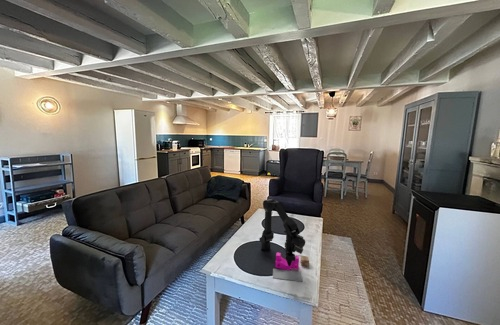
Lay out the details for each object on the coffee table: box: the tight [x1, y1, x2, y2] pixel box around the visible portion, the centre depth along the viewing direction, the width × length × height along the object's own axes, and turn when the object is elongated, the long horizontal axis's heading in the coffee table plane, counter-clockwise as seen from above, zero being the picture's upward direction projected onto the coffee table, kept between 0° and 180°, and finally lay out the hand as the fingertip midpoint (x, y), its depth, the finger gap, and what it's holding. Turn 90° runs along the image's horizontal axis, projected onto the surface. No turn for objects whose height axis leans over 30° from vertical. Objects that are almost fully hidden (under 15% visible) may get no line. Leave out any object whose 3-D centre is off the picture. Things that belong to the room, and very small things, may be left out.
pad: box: [272, 268, 304, 283], centre depth 130 cm, size 18×9×1 cm, turn 82°
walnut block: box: [300, 255, 310, 267], centre depth 142 cm, size 5×5×4 cm
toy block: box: [274, 252, 300, 271], centre depth 138 cm, size 15×6×8 cm, turn 78°
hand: (289, 262), depth 137 cm, fingers closed on toy block, 6 cm apart
